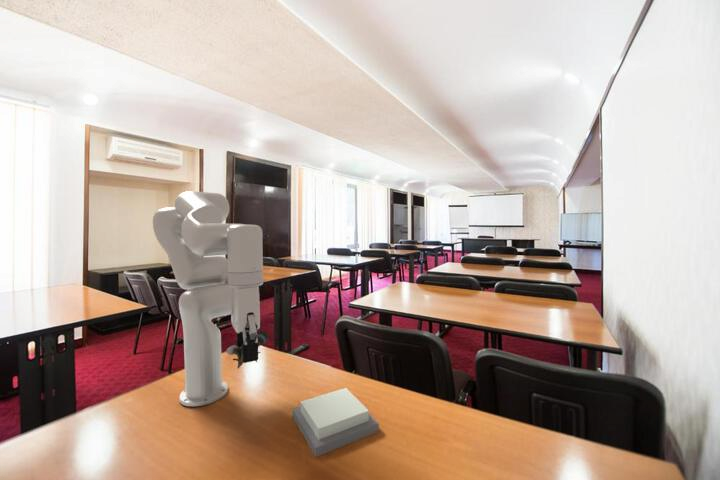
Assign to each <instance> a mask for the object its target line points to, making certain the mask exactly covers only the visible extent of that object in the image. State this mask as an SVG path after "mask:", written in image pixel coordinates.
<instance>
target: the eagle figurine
mask: <svg viewBox="0 0 720 480" xmlns="http://www.w3.org/2000/svg"><path fill="white" fill-rule="evenodd" d="M269 337H270V336H269V335H268V333H267V332H266V331H265V330H264V331H263V330H257V338H258V348H260V347H261V345H265V344H266V343H267V342H268V340H269ZM243 344H244V342H243ZM226 353H227V354H228V355H231V356H232V355H233V356H234V355H236V358H233V359H232V361H237V369H239V368H241V366H242V365H243V364H244V363H243V354H242V347H238V346H237V344H236V345H235V344H234V345H231V346H229V347H227V349H226ZM258 354H261V351H258ZM255 363H258V360H256V361H255Z"/></svg>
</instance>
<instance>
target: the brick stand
mask: <svg viewBox="0 0 720 480" xmlns="http://www.w3.org/2000/svg"><path fill="white" fill-rule="evenodd" d="M291 411H292V418H293V420H294V421H295V424H296V425H297V427H298V428H299V431H300V432H301V434H302V436H303V437H304V439H305V440H306V443H307V444H308V447H309V448H310V449H311V451H312V453H313V455H314V457H315V458H318V457H320V456H323V455H325V454H328V453H329V452H332V451H334V450H336V449H340V448H342V447H344V446H347V445H349V444H351V443H354V442H356V441H359V440H362V439H363V438H365V437H369V436H370V435H373V434H375V433H378V432H380V431H379V426H380V425H379V422H378V421H377V420H376V419H375V418H374V416H373V415H371V414H370V411H369V409H368V408H367V407H366V406H365V405H364V404H363V403H362V402H361V401H360V400H359V399H358V398H357V397H356V396H355V395H354V394H353V393H352V392H351V391H350V390H349V389H348V388H347V387H344V388H340V389H337V390H334V391H331V392H327V393H324V394H321V395H317V396H314V397H311V398H308V399H305V400H301V401H300V406H297V407H295V408H292V410H291Z"/></svg>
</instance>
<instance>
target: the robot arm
mask: <svg viewBox="0 0 720 480" xmlns="http://www.w3.org/2000/svg"><path fill="white" fill-rule="evenodd" d="M229 203H230V202H229V200H228V198H226V196H224V195H223V194H221V193H218V192H217V193H216V192H208V191H207V192H206V191H205V192H204V191H194V190H193V191H185V192H181V193H180V194H179V195H177V196H176V198H175V199H174V207H164V208H160V209H158V210H157V211H155V213H154V214H153V217H152V228H153V232H154V235H155V238H156V240H157V242H158V243H159V244H160V245H159V246H161V248H162V249H163V250H164V252H165V253H166V254H167V256H168V259H169V263H170V266H171V269H172V272H173V275H174V278H175V280H176V283H177V285H178V286H179V288H181V289H183V290H185V291H184V292H182V293H181V295H180V296H179V298H178V309H179V310H178V311H179V314H180V319H181V322H182V324H181V325H182V332H183V353H184V355H183V357H184V385H185V386H184V387H185V389H183V390H182V391H181V392H180V394H179V403H180V404H181V405H183V406H186V407H193V408H194V407H200V406H201V407H202V406H205V405H209V404H212V403H215V402H217V401H218V400H220V399H221V398H223V397H224V396H225V395H226V394H227V392H228V390H229V386H228V383H227V382H226V381H224V380H223V372H222V371H223V369H222V367H223V365H222V364H223V363H222V361H223V360H222V333H221V331H220V328H219V327H218V326H217V325H216V324H214V323H213V321H212V320H213V319H216V318H221V317H224V316H229V315H230V316H231V317H230V321H231V322H230V323H231V325H232V328H233V329H234V331H235V332H236V346H238V347H242V354H243V364H246V363H251V362H256V360H257V361H258V360H259V353H258V352H259V347H258V338H257V331H259V329H260V327H261V307H260V306H261V305H260V289H259V288H260V287H259V286H262V285H263V284H264V260H263V259H264V258H263V255H264V254H263V253H264V252H263V251H264V250H263V229H262V227H261V226H259V225H257V224H244V223H223V222H224V221H225V220H227V218H228V216H229V215H230V204H229ZM223 255H227V258H226V257H223ZM243 342H244V344H243Z"/></svg>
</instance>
